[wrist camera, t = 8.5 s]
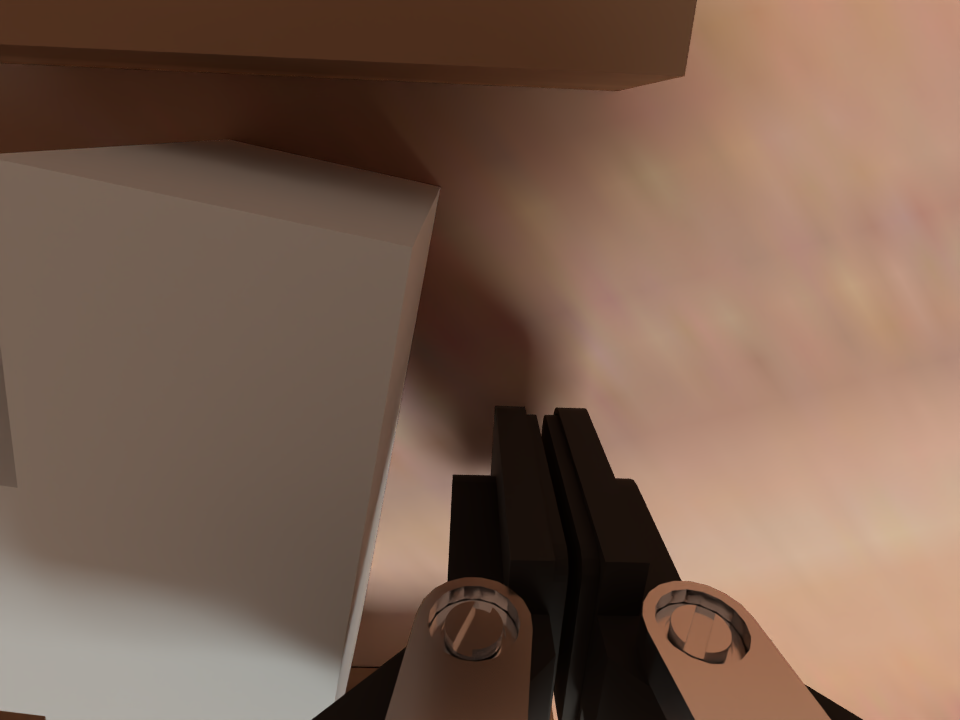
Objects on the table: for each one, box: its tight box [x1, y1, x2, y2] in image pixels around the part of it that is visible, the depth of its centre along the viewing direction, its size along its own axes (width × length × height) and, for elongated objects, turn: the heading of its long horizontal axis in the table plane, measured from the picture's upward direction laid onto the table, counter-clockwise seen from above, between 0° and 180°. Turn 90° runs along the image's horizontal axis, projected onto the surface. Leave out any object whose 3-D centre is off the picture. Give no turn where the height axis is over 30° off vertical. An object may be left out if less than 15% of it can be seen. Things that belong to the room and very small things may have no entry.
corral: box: [0, 0, 697, 720], centre depth 10 cm, size 15×16×3 cm
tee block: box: [0, 139, 440, 720], centre depth 8 cm, size 10×10×5 cm
